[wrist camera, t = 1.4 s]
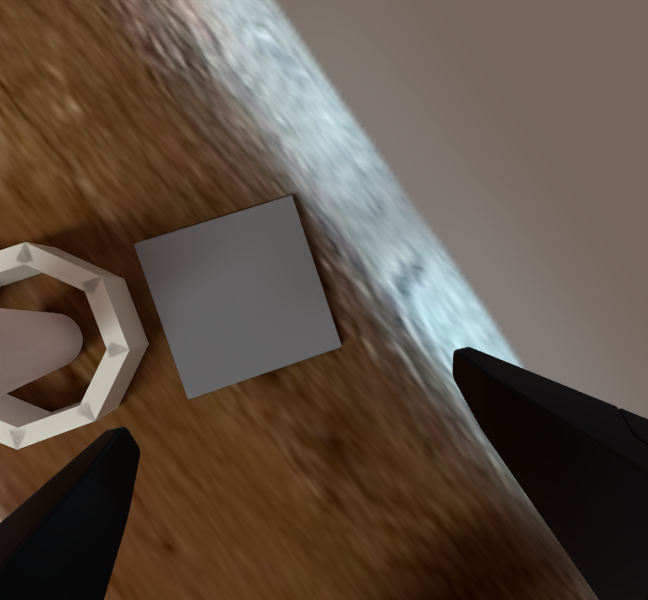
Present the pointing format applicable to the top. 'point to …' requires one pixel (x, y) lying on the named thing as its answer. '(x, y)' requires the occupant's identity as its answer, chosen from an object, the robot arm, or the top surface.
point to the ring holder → (116, 329)
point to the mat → (238, 296)
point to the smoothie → (34, 345)
